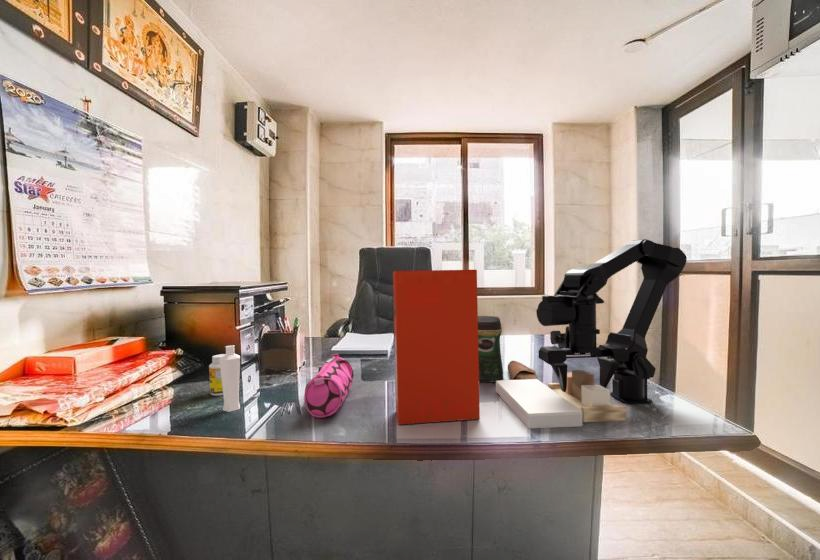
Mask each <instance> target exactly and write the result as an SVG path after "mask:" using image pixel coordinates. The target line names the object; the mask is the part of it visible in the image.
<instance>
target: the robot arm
mask: <svg viewBox="0 0 820 560" xmlns="http://www.w3.org/2000/svg"><path fill="white" fill-rule="evenodd" d="M687 258H688V257H687V255H686V253H684V252H683V250H682V249H681V248H679V247H673V246H670V245H666V244H661V243H657V242H654V241H652V240H650V239H646V238H645V239H637V240H636V239H634V240H630V241H628V242H627V243H626V244H625V245H623V246H621V247H620V248H618V249H617V250H615V251H612V252H611V253H609V254H607V255H606V256H604V257H602V258H600V259H599V260H598V261H595V262H593V263H590V264H587V265H586V264H585V265H582V266H577V267H575V268H572V269H569V270H567V272H565V273H564V277H563V279H562V282H561V284H560V285H559V287H558V288H557V289H556V291H555V293H554V295H542V296H541V301H540V302H539V304H538V306H537V309H536V310H535V311H536V312H535V313H536V318H537V321H538V323H539V324H540V325H542V326H543V327H551V326H553V327H554V326H565V332H564V333H561V331H560V330H551V331H550V334H549V335H550V336H549V338H550V343H551V345H554V346H551V345H549V346H541V347H540V348H539V349H538V359H540V360H542V362H544V363H546V364H548V365H550V367H551V368H552V369H553V372H554V373H555V376H556V379H557V381H558V382H557V383H559V384H560V387H561V389H562V391H563V392H566V388H567V373H568V364H566V363H565V362H566V361H567V359H584V358H585V359H586V358H596V359H597V362H598V365H599V385H601V386H602V387H604V388H606V389H607V387H608V385H609V383H610V381H611V379H612V383H611V384H612V392H611V391H610V396H612V397H614V398H616V399H618V400H619V401H621V402H622V403H625V404H646V403H648V404H649V403H653V399H650V398H648V380H650V379H651V378H654V377H655V373H656V367H655V366H654V365H653V364H652V362H651V361H650V360H649V359H648V358H647V355H648V350H649V349H648V345H647V342H646V341H647V340H646V335H647V333H648V331H649V329H650V326H651V324H652V321H653V319H654V316H655V314H656V312H657V310H658V307H659V305H660V303H661V300H662V297H663V295H664V294H665V293H664V292H665V290H666V288H667V286H668V284H670V283H672V281H675V279H677V278H678V277H679V276H680V274H682V272H683V270H684V268H685V266H686V264H687ZM634 263H638V264H640V265H641V267H640V269H641V273H642V276H643V279H642V282H641V285H640V286H639V289H638V291H637V292H636V293H637V294H636V296H635V298H634V301H633V303H632V305H631V307H630V309H629V313H628V314H627V317H626V319H625V322H624V324H623V326H622V329H620V330H619V331H618V332H613V331H612V332H609V334H608V335H607V339H606V342H605V343H603V344H599V345H598V346H597V335H600V333H601V332H600V331H601V330H600V329H598V328H597V304H598V305H600V304H605V300H604V299H603V298H601V297H600V296H599V295H598V292H600V291H601V289H603V288H604V287H605V286H606V285H607V282H608V280H609V279H610V278H611V277H612V276H614V275H616V274H617V273H619V272H621V271H623V270H624V269H626V268H628V267H629V266H631V265H632V264H634ZM556 345H558V346H556Z"/></svg>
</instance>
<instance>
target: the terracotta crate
mask: <svg viewBox="0 0 820 560" xmlns="http://www.w3.org/2000/svg"><path fill="white" fill-rule="evenodd" d="M560 389H561V387H560ZM561 390H562V389H561ZM566 393H567V394H572V371H570V372H568V371H567V388H566Z"/></svg>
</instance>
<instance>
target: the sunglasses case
mask: <svg viewBox="0 0 820 560" xmlns="http://www.w3.org/2000/svg"><path fill="white" fill-rule="evenodd" d="M507 371H508V374H509V375H508V376H509V380H526V379H538V380H539V378H538V376H537V373H536V371H535V370H534V369H533V368H530V367H529V366H527V365H525V364H523V363H521V362H519V361H516V360H511V361H510V362H508V364H507Z"/></svg>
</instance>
